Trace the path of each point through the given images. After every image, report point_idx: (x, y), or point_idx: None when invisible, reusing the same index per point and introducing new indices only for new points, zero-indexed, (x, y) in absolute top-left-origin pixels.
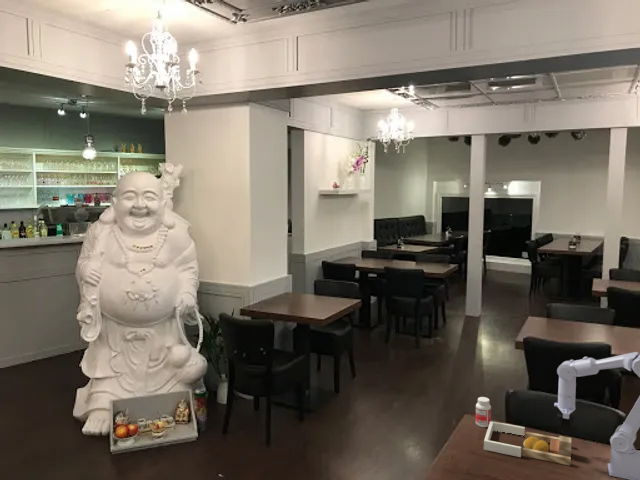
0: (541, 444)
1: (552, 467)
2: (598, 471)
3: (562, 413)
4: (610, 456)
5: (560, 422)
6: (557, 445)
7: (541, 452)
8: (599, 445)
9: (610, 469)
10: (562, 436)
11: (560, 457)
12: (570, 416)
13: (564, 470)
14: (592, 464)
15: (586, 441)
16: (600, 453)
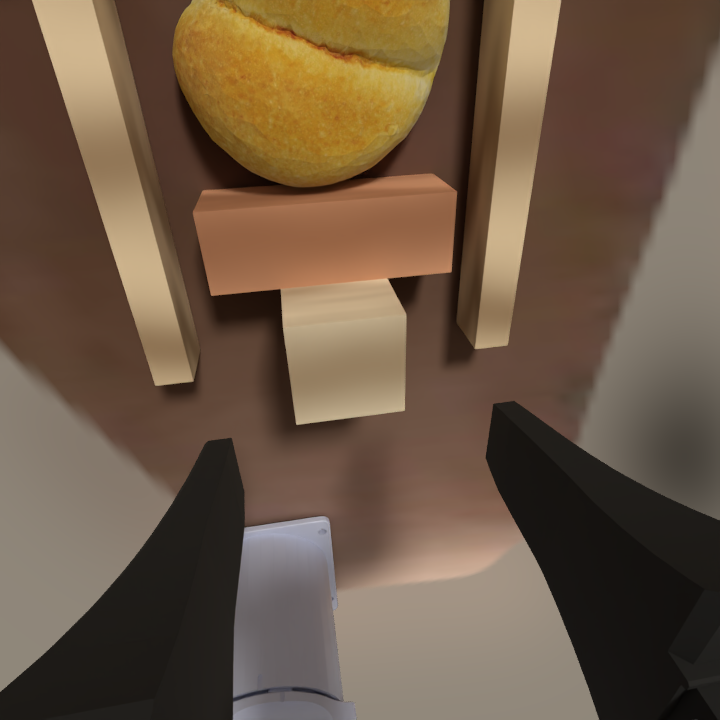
0: (249, 108)
1: (22, 235)
2: None
3: (586, 528)
4: (258, 610)
5: (100, 603)
6: (333, 270)
7: (88, 123)
8: None
9: (246, 542)
10: (400, 343)
11: (133, 311)
12: (547, 580)
13: (52, 325)
14: (280, 456)
15: (586, 395)
16: (448, 471)
